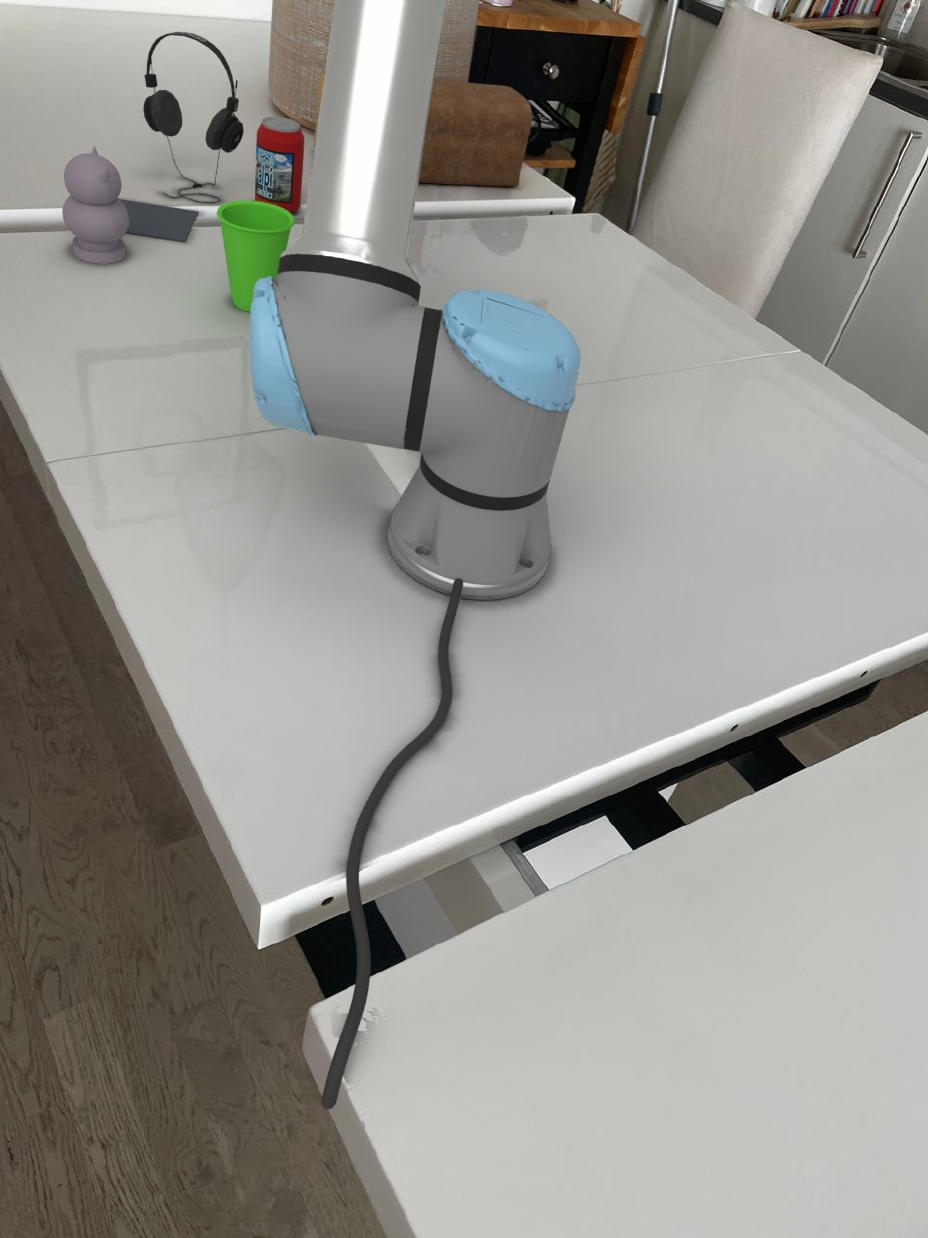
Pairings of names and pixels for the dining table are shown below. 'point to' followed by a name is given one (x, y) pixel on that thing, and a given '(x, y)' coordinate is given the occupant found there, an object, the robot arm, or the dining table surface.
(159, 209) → the placemat
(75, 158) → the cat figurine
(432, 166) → the bread
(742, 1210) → the dining table surface
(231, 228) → the cup
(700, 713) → the dining table surface
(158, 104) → the headphones
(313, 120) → the planter
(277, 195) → the beverage can
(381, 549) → the dining table surface
